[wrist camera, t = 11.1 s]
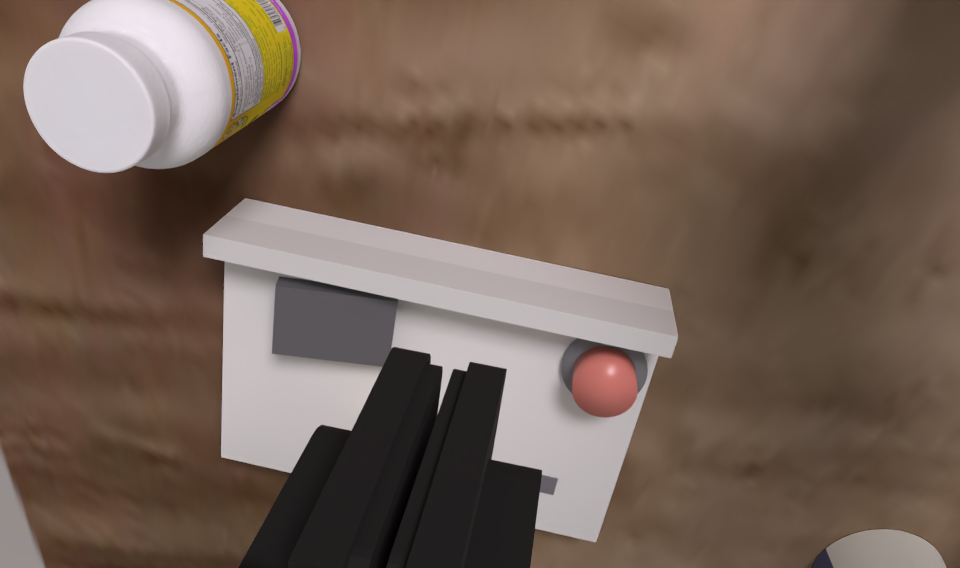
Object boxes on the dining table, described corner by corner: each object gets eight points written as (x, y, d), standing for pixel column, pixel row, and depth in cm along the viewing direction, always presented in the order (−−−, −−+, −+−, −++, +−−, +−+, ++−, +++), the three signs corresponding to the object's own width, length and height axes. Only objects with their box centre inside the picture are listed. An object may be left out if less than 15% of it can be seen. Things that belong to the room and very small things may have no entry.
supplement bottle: (183, 106, 39) (15, 191, 28) (165, -34, 36) (-31, -3, 25) (310, 117, 39) (191, 208, 27) (302, -24, 36) (166, 12, 24)
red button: (643, 353, 39) (645, 371, 37) (626, 405, 40) (628, 423, 39) (580, 340, 39) (580, 357, 37) (566, 391, 40) (565, 409, 39)
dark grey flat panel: (398, 292, 39) (397, 301, 38) (389, 356, 41) (388, 367, 40) (279, 276, 38) (275, 286, 37) (275, 343, 40) (271, 353, 39)
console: (669, 288, 40) (678, 337, 36) (595, 512, 48) (596, 575, 43) (245, 198, 41) (203, 234, 37) (238, 431, 48) (202, 485, 44)
